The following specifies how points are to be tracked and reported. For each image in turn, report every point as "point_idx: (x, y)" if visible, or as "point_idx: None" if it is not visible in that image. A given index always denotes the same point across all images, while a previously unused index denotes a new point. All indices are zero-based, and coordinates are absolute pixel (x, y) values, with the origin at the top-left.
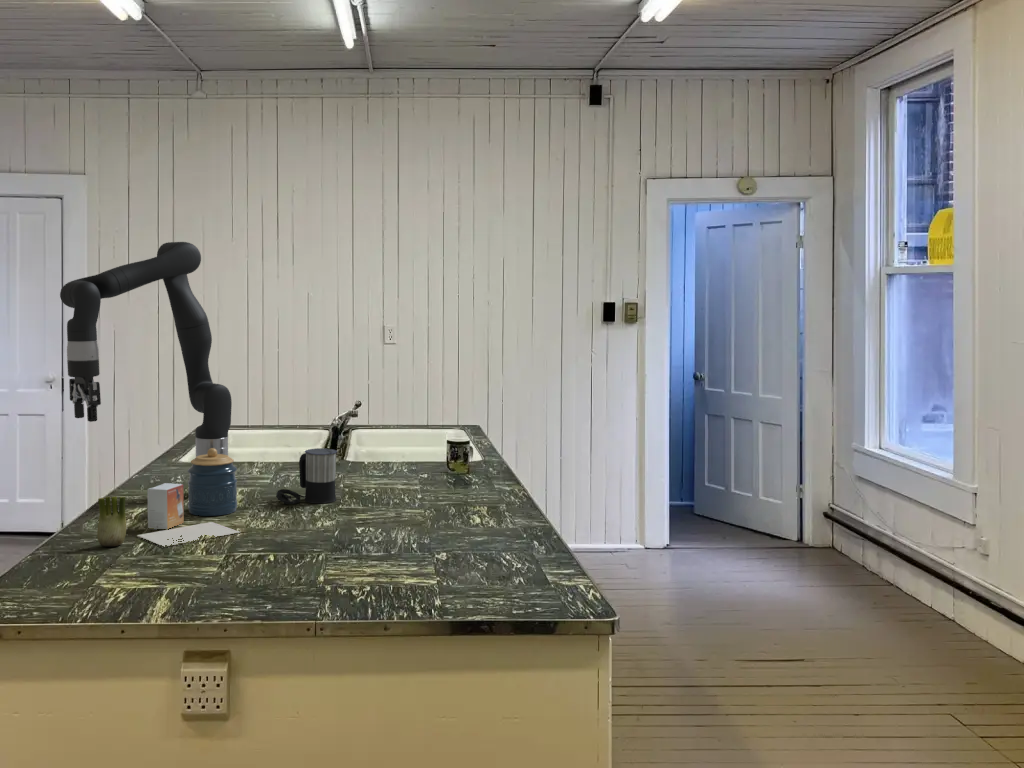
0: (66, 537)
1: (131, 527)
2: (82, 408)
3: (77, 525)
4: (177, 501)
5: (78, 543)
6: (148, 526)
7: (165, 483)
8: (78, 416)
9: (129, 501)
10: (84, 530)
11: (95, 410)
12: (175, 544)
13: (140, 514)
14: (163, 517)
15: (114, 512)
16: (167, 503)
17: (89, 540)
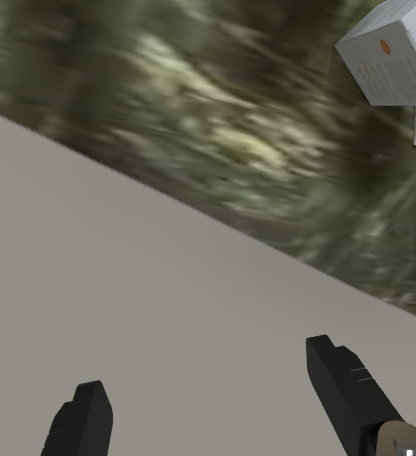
0: (326, 257)
1: (331, 133)
2: (85, 449)
3: (246, 226)
4: None
5: (380, 246)
6: (375, 105)
7: (411, 20)
8: (106, 412)
9: (35, 55)
10: (295, 222)
11: (389, 405)
12: None
13: (218, 76)
14: None
15: None
16: None
17: (374, 227)
